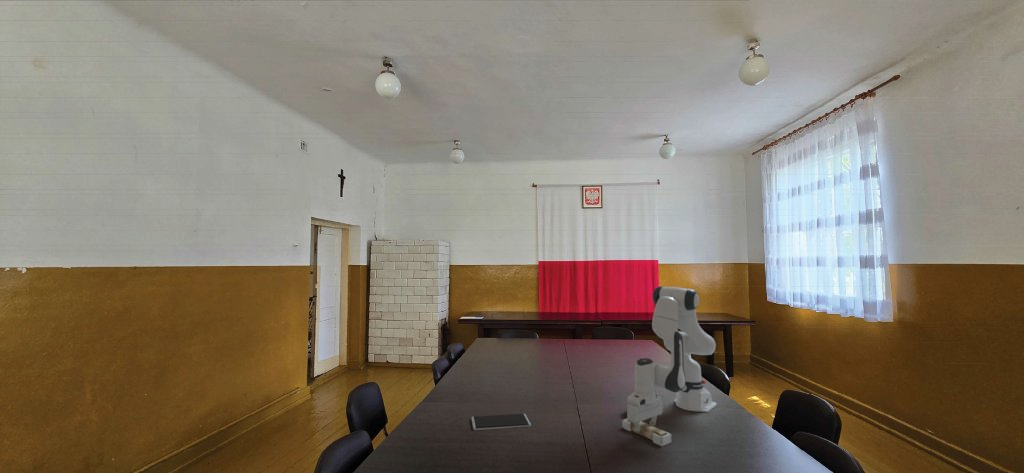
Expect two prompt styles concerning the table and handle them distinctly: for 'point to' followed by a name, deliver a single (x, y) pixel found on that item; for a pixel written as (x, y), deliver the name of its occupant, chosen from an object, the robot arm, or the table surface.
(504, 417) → the smartphone
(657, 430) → the tan wooden beam
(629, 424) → the cap
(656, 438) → the cap
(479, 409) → the table surface
